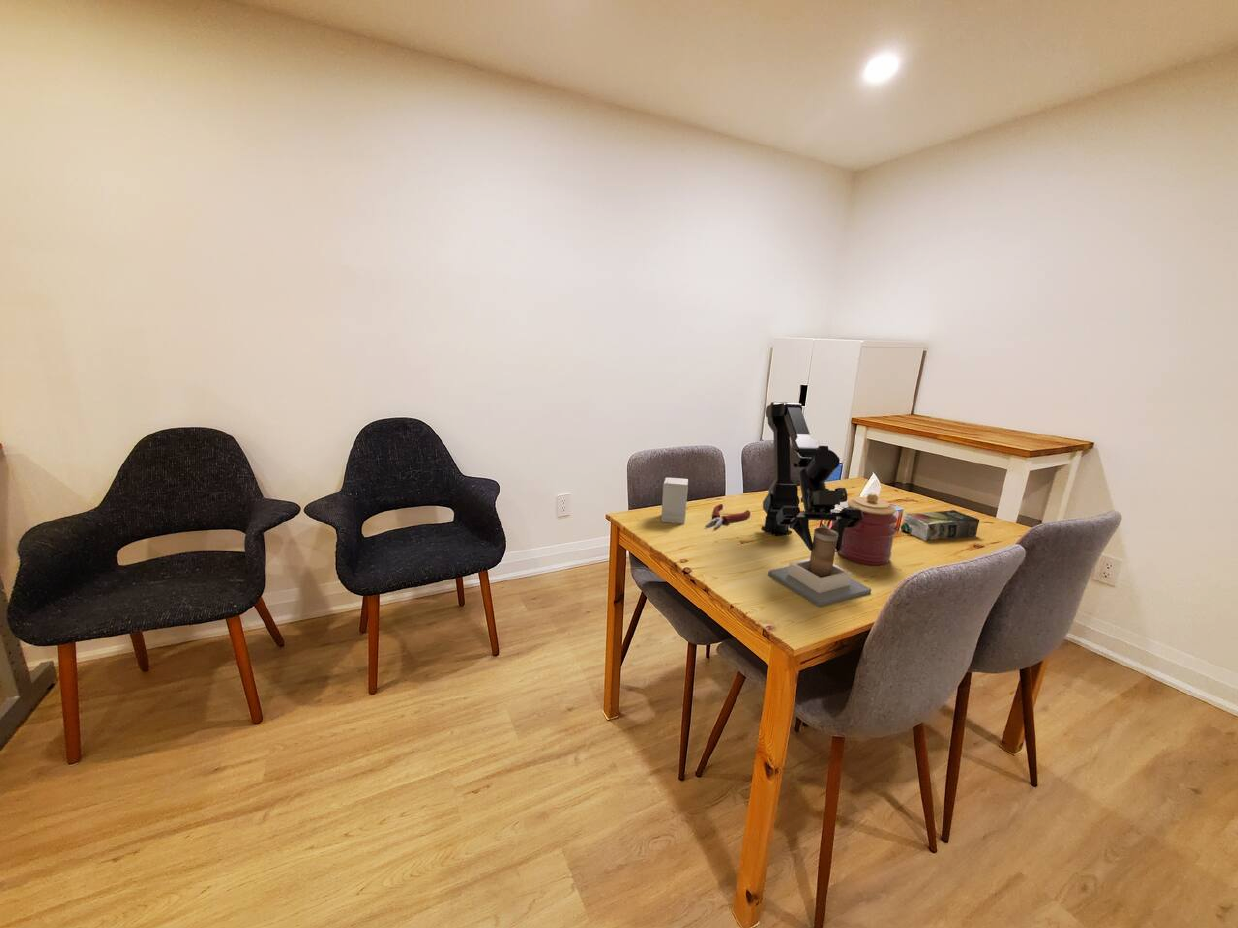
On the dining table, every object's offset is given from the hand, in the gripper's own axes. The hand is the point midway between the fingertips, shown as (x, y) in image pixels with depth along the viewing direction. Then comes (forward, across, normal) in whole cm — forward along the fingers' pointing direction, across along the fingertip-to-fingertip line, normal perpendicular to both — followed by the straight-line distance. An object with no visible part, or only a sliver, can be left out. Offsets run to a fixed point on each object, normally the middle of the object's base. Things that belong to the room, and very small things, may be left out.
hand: (825, 550), depth 111 cm
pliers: (-23, -15, +37) cm, 47 cm away
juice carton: (-19, +50, +33) cm, 63 cm away
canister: (-6, +19, +19) cm, 28 cm away
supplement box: (-22, -30, +36) cm, 52 cm away
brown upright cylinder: (+5, 0, +7) cm, 8 cm away
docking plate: (+5, 0, +7) cm, 9 cm away
